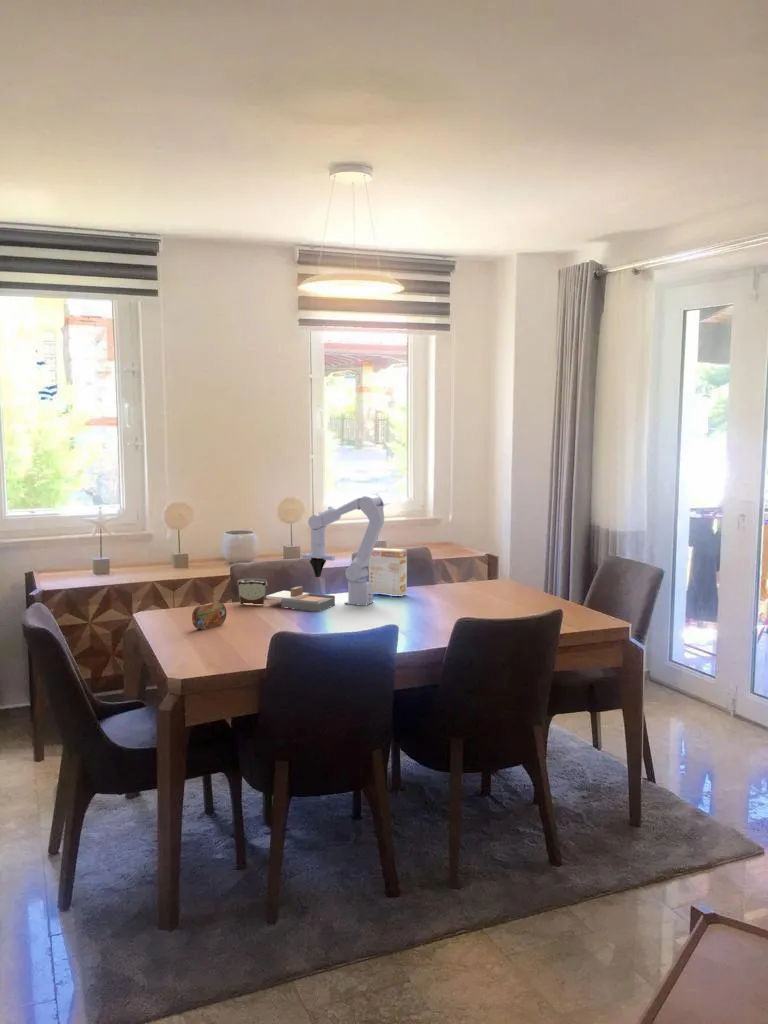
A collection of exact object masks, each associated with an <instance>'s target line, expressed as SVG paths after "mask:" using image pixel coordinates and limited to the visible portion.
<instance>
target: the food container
mask: <svg viewBox="0 0 768 1024" xmlns="http://www.w3.org/2000/svg"><path fill="white" fill-rule="evenodd" d="M236 586H237V587H238V596H239V604H243V603H253V604H264V605H265V598H266V590H267V589H266V588H267V587H268V586H269V585H268V581H267V579H264V578H242V579H238V580H237V583H236ZM266 586H267V587H266Z"/></svg>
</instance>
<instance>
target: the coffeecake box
mask: <svg viewBox="0 0 768 1024" xmlns="http://www.w3.org/2000/svg"><path fill="white" fill-rule="evenodd" d="M369 563H370V566H369V574H368V582H370V583H372V586H373V592H379V593H386V594H392V595H402V594H405V593H407V592H408V591H407V589H408V587H407V585H408V582H407V581H408V575H407V574H408V566H407V565H408V549H403V548H392V547H391V548H390V547H389V548H388V547H374V548H373V551H372V554H371V556H370V559H369Z"/></svg>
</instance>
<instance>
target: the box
mask: <svg viewBox="0 0 768 1024" xmlns="http://www.w3.org/2000/svg"><path fill="white" fill-rule="evenodd" d="M308 593H309V596H306V597H303V598H300V599H286V598H281V600H280V601H281V608H282V607H288V608H294V609H293V610H295V609H302V610H301V611H305V610H309V611H308V612H315V611H318V612H321V611H323V609H324V610H325V608H326V609H329V608H331V607H330V606H332V607H333V605H334V606H335V605H336V602H335V599H336V598H335V597H336V596H335V595H332V594H331V595H330V594H320V593H310V592H308ZM328 607H329V608H328ZM320 610H321V611H320Z"/></svg>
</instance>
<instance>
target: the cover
mask: <svg viewBox="0 0 768 1024" xmlns="http://www.w3.org/2000/svg"><path fill="white" fill-rule="evenodd" d="M303 590H304V589H303V586H295V587H292V588H290V591H289V590H281V591H277V592H274V593H271V594H267V595H265V598H266V599H269V600H279V601H282V600H281V598H286V599H300V598H303V597H306V596H309V593H310V592H303Z"/></svg>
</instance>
